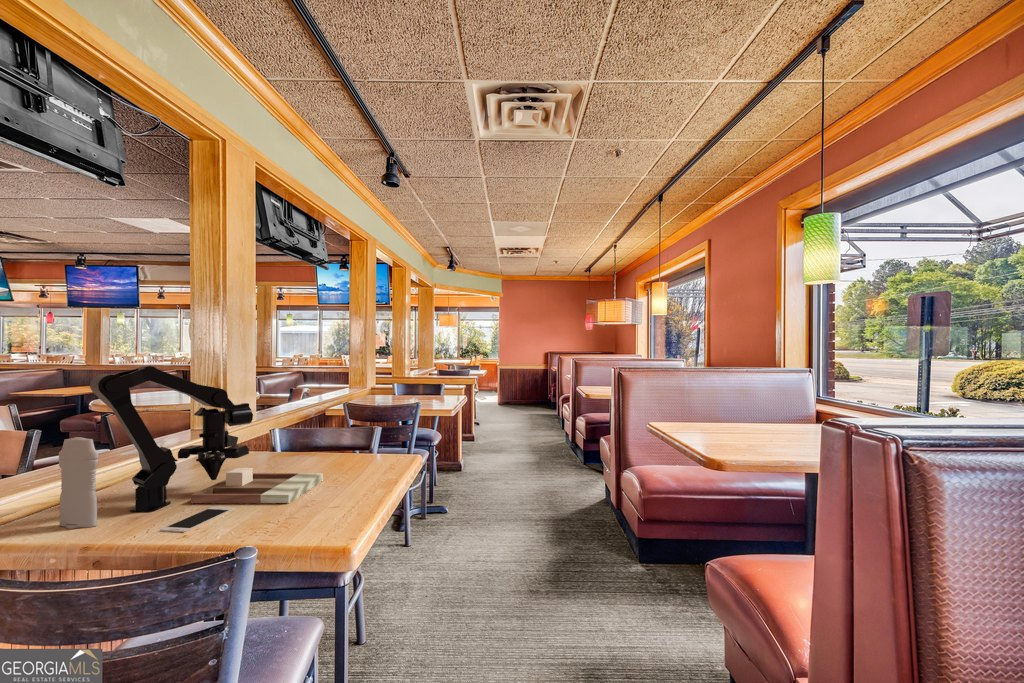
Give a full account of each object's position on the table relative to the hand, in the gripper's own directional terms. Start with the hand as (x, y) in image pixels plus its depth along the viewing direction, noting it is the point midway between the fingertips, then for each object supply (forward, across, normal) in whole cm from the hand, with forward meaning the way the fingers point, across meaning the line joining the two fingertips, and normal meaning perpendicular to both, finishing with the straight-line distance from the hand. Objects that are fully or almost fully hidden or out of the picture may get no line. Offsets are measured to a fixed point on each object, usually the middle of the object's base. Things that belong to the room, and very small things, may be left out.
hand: (213, 479), depth 134 cm
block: (+1, -8, 0) cm, 8 cm away
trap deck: (+4, -15, 0) cm, 15 cm away
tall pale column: (+4, +16, +26) cm, 30 cm away
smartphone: (+4, -12, +22) cm, 25 cm away
